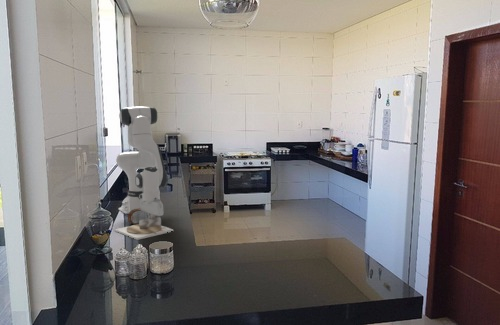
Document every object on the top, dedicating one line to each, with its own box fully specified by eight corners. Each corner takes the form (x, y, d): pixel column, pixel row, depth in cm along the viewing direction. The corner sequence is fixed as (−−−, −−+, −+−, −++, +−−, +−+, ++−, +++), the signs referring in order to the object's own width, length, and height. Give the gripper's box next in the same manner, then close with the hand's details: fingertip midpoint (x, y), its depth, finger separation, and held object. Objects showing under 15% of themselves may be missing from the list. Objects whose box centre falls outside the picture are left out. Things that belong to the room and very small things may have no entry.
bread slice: (149, 219, 233) (149, 206, 232) (152, 220, 231) (152, 206, 231) (127, 224, 222) (127, 210, 221) (130, 225, 220) (130, 211, 219)
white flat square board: (114, 231, 209) (114, 228, 209) (150, 223, 225) (150, 221, 225) (137, 240, 194) (136, 237, 194) (173, 231, 210) (173, 229, 210)
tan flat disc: (138, 236, 196) (138, 227, 196) (120, 229, 209) (120, 220, 208) (169, 228, 210) (169, 220, 210) (150, 222, 223) (150, 214, 222)
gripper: (166, 198, 211) (166, 223, 212) (147, 193, 226) (148, 216, 227) (155, 200, 207) (156, 225, 208) (137, 194, 222) (138, 218, 223)
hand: (151, 221), depth 218 cm, fingers closed
